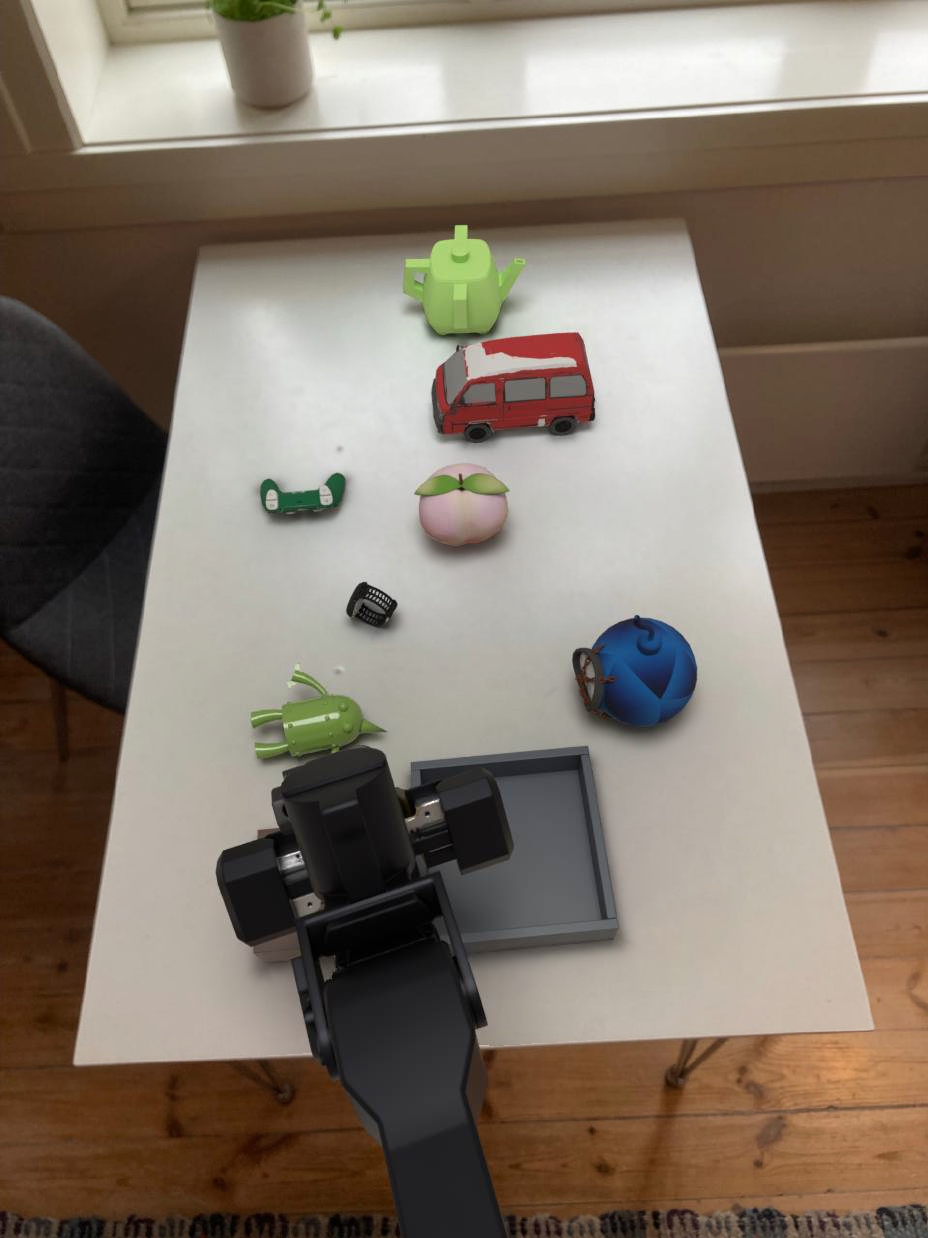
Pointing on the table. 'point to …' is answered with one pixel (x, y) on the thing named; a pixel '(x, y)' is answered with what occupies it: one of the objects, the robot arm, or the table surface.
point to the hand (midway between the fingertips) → (358, 805)
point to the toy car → (514, 386)
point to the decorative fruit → (462, 504)
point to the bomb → (637, 672)
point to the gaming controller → (302, 496)
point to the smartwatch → (358, 602)
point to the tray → (532, 856)
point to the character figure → (313, 722)
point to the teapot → (460, 284)
